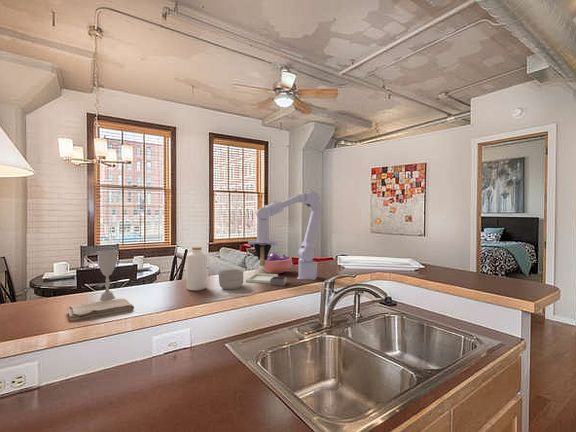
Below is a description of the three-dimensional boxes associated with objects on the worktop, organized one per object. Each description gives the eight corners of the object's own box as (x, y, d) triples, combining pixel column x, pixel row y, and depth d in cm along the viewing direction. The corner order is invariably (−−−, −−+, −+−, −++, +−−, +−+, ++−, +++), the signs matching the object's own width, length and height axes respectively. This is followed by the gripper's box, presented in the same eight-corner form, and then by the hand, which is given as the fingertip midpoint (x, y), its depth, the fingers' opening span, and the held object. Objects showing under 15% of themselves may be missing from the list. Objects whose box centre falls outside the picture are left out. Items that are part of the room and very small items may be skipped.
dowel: (265, 265, 153) (265, 246, 153) (264, 266, 151) (264, 247, 150) (260, 265, 153) (260, 246, 153) (259, 265, 151) (259, 247, 151)
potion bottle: (182, 289, 133) (182, 247, 132) (196, 285, 140) (196, 246, 140) (196, 292, 129) (196, 248, 128) (210, 288, 136) (210, 247, 136)
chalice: (107, 301, 115) (107, 252, 114) (91, 300, 116) (92, 252, 116) (122, 296, 122) (122, 250, 122) (107, 295, 123) (107, 249, 123)
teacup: (230, 293, 127) (230, 274, 127) (212, 289, 134) (212, 270, 134) (253, 287, 138) (253, 269, 138) (236, 283, 145) (236, 266, 145)
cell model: (298, 272, 174) (299, 252, 174) (279, 278, 157) (279, 256, 157) (274, 269, 183) (274, 249, 183) (252, 274, 166) (253, 253, 166)
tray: (278, 277, 159) (278, 274, 159) (270, 284, 143) (270, 280, 143) (255, 276, 161) (255, 273, 161) (245, 283, 146) (245, 279, 146)
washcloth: (65, 313, 102) (65, 304, 102) (126, 303, 113) (126, 295, 113) (69, 324, 93) (69, 313, 93) (134, 312, 104) (134, 302, 104)
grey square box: (286, 283, 145) (286, 277, 145) (283, 287, 139) (283, 279, 139) (273, 283, 146) (273, 276, 146) (270, 286, 140) (270, 279, 140)
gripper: (246, 232, 150) (245, 260, 150) (275, 232, 147) (275, 261, 147) (250, 231, 156) (250, 258, 157) (278, 231, 154) (278, 259, 154)
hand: (262, 259), depth 152 cm, fingers closed on dowel, 3 cm apart
